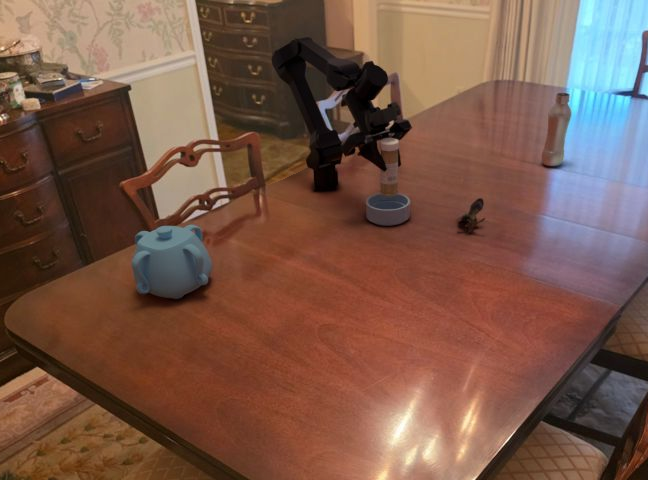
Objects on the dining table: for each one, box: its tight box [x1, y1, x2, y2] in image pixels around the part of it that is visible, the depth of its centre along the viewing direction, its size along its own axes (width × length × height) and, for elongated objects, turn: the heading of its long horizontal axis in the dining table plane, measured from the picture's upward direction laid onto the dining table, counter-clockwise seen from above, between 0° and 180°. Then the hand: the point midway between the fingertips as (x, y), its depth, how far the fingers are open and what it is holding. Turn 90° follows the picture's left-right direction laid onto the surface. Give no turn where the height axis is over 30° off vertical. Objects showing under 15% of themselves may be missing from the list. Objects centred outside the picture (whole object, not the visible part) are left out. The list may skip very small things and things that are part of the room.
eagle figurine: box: [456, 197, 486, 235], centre depth 152 cm, size 8×7×9 cm
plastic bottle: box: [541, 92, 572, 167], centre depth 179 cm, size 6×7×20 cm
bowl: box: [365, 192, 411, 227], centre depth 158 cm, size 11×11×4 cm
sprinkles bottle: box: [379, 138, 400, 197], centre depth 152 cm, size 5×5×13 cm
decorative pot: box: [131, 224, 213, 300], centre depth 131 cm, size 16×16×14 cm
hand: (392, 168), depth 151 cm, fingers closed on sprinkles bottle, 4 cm apart
